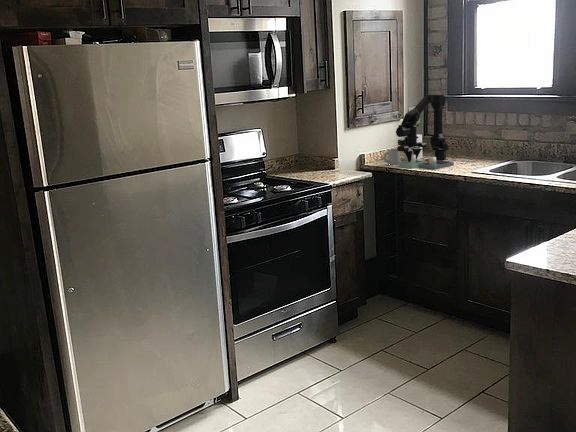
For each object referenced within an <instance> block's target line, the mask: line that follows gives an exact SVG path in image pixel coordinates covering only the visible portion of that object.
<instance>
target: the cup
mask: <svg viewBox="0 0 576 432" xmlns="http://www.w3.org/2000/svg"><path fill="white" fill-rule="evenodd" d="M383 162H385V164H388V165H389V164H390V165H395V166H399V165H398V164H399V162H401V151H397V148H393V149H392V148H391V149H388V150H387V151H386V152H385V153H384V154H383ZM390 165H389V166H390Z"/></svg>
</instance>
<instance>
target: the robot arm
mask: <svg viewBox="0 0 576 432" xmlns="http://www.w3.org/2000/svg"><path fill="white" fill-rule="evenodd" d="M429 104H430V106H431V108H432V109H433V134H432V136H430V146H431V150H432V151H434V157H436V160H441V161H448V158H447V151H449V148H450V147H449V145H448V143H446V138H445V136H444V134H443V109H444V107H445V105H446V96H445V95H444V94H440V93H439V94H434V93H433V94H431V93H429V94H428V93H427V94H424V95H423V97H422V98H421V100H420V101H419V102H418V103H417V105H415V106H414V108H413V109H411V110H409V111H407V112H406V113H405V114H404V118H403V119H402V122H401V123H400V124H398V127H397V128H396V130H395V134H396V137H398V138H400V139H397V148H396V149H397V151H400V152H402V153H403V154H404V153H405V154H406V156H407V159H408V160H407V161H409V162H411V157H412V151H411V149H412V148H413V149H412V150H413V154H415V155H416V159H417V157H418V155H419V153H420V151H421V150H422V151H423V149H424V148H425V149H426V148H427V146H428V145H427V143H426V142H423V141H422V142H418V143H417V138H418V136H417V135H418V133H417V128H418V127H420V125H419V123H418V121H419V120H420V118H421V114H422V113H423V111H424V110H426V108H427V107H428V106H429ZM403 136H407V137H405V140H404V139H402V138H403ZM420 147H422V149H420Z"/></svg>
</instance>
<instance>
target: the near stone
mask: <svg viewBox="0 0 576 432" xmlns="http://www.w3.org/2000/svg"><path fill="white" fill-rule="evenodd" d="M414 163H416V155H415V154H412V157H411V162H409V164H414Z"/></svg>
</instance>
